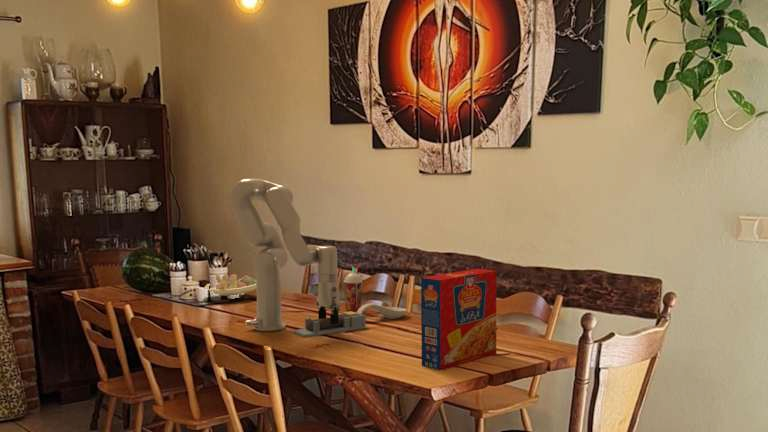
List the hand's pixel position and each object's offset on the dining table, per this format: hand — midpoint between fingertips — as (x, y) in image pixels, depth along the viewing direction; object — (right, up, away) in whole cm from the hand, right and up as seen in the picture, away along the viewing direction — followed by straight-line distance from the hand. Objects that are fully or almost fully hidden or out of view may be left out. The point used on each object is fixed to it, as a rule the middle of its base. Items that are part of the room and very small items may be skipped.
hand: (328, 321), depth 264 cm
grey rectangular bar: (+2, -2, +1) cm, 3 cm away
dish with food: (-53, 0, +72) cm, 90 cm away
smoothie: (+8, -1, +37) cm, 38 cm away
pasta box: (+46, -6, -43) cm, 63 cm away
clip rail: (0, -3, 0) cm, 3 cm away
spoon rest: (+21, -3, +22) cm, 30 cm away
